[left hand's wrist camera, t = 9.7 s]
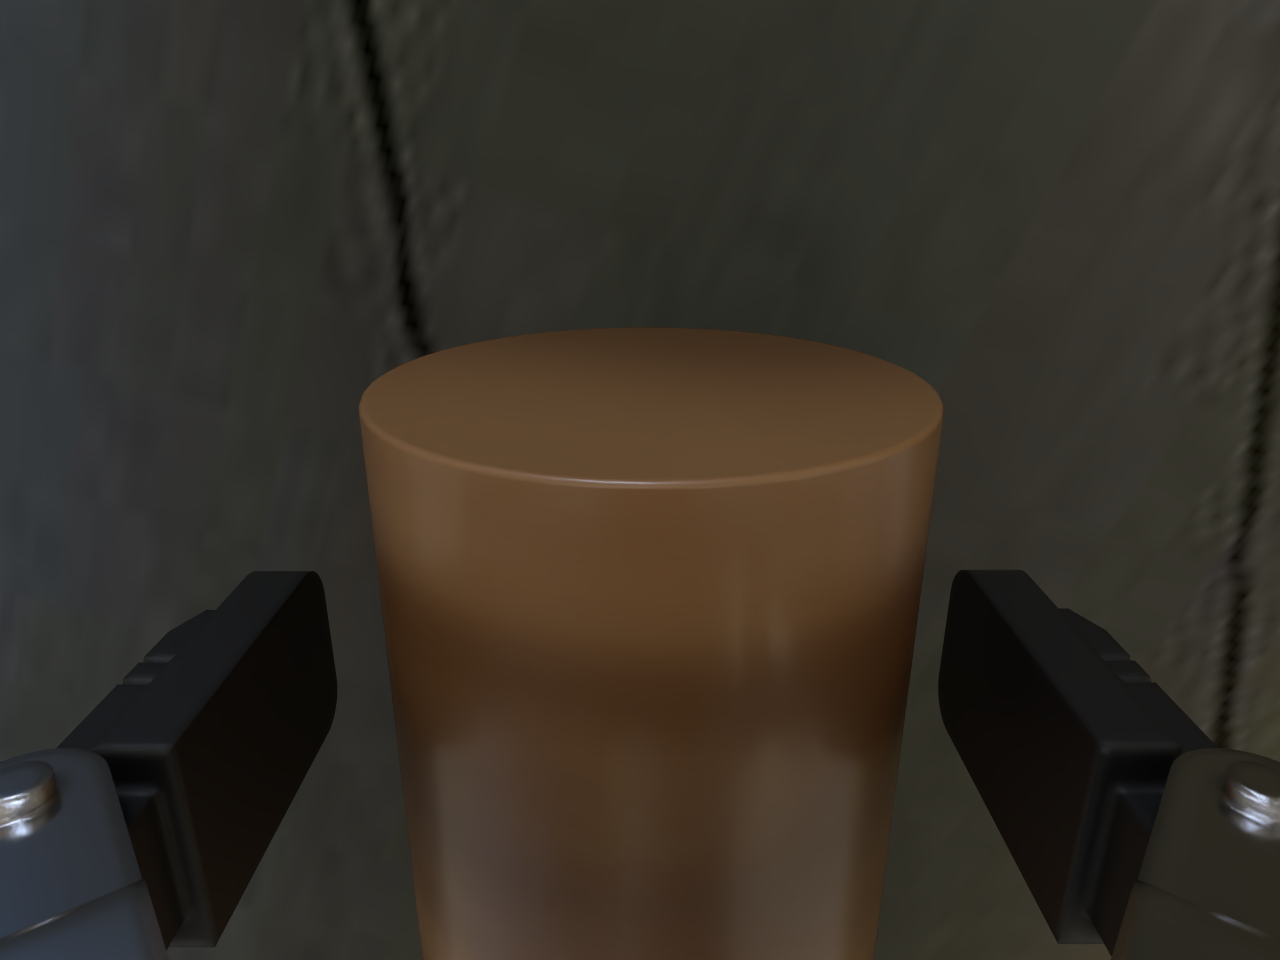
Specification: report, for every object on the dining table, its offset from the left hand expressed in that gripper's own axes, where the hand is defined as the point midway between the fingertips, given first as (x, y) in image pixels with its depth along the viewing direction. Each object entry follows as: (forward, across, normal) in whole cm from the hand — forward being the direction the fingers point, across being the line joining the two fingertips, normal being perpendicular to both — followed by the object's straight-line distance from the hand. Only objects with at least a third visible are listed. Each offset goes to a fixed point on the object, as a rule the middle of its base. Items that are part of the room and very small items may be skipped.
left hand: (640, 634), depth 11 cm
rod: (+3, 0, -9) cm, 9 cm away
